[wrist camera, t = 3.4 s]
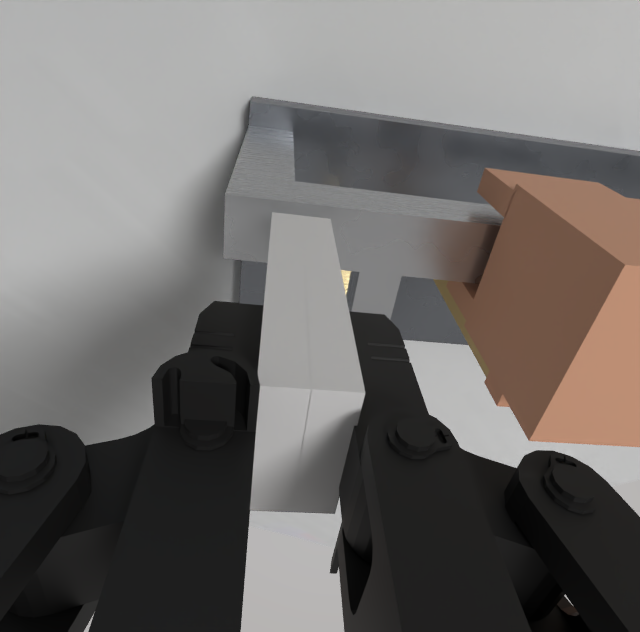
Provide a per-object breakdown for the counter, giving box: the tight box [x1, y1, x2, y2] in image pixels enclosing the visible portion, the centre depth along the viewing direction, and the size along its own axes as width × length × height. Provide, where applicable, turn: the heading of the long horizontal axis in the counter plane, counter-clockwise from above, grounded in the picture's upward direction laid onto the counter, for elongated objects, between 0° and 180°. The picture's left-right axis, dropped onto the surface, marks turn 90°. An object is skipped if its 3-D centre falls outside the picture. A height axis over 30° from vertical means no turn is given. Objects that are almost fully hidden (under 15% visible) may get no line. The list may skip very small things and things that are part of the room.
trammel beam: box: [223, 126, 504, 319], centre depth 21 cm, size 26×6×11 cm, turn 82°
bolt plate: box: [239, 96, 640, 345], centre depth 26 cm, size 26×12×2 cm, turn 82°
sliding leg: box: [433, 168, 640, 447], centre depth 17 cm, size 4×7×15 cm, turn 172°
